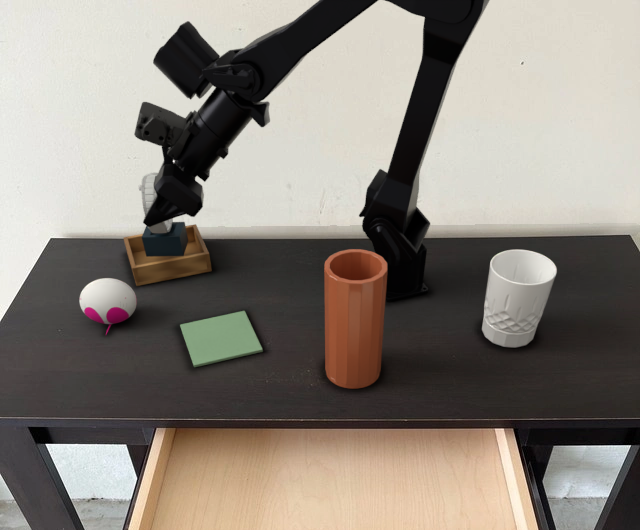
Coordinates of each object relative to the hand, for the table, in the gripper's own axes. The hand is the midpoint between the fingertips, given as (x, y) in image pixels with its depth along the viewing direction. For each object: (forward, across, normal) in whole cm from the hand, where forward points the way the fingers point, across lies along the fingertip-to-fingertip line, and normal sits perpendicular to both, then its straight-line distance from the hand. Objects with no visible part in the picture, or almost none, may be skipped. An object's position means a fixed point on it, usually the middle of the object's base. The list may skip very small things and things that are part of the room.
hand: (149, 209), depth 94 cm
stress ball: (+10, +14, +2) cm, 18 cm away
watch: (+4, 0, +6) cm, 7 cm away
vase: (-12, +27, +25) cm, 39 cm away
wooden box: (+5, 0, +7) cm, 9 cm away
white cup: (-27, +22, +40) cm, 53 cm away
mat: (0, +19, +13) cm, 23 cm away
